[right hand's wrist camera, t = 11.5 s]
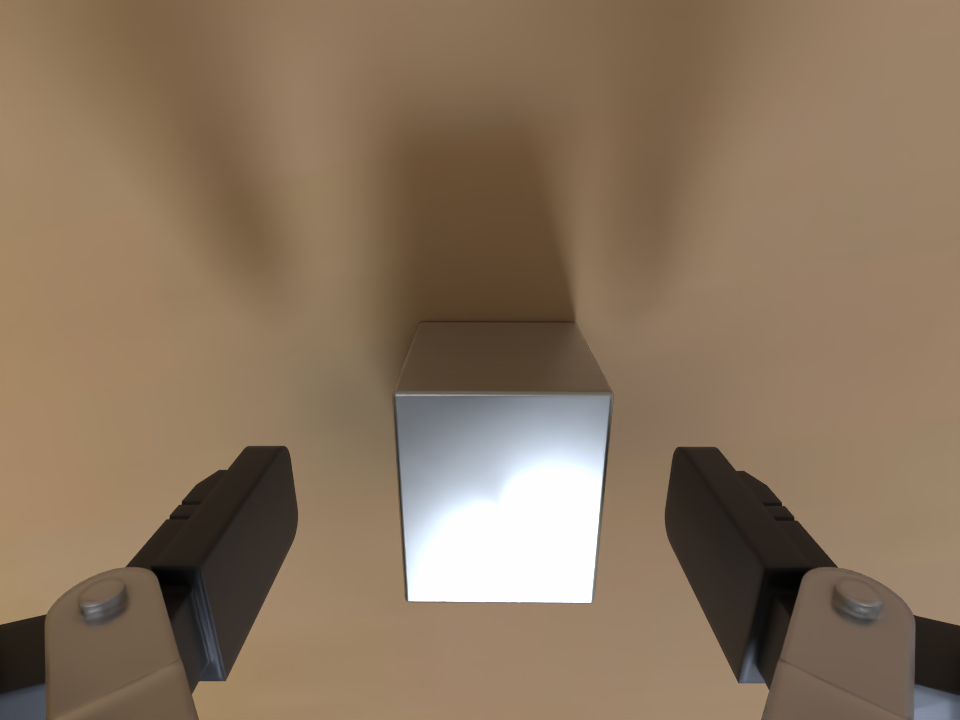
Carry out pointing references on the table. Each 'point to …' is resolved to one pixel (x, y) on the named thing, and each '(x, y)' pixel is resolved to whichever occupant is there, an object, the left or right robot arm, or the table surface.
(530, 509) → the block
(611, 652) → the table surface
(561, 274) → the table surface
